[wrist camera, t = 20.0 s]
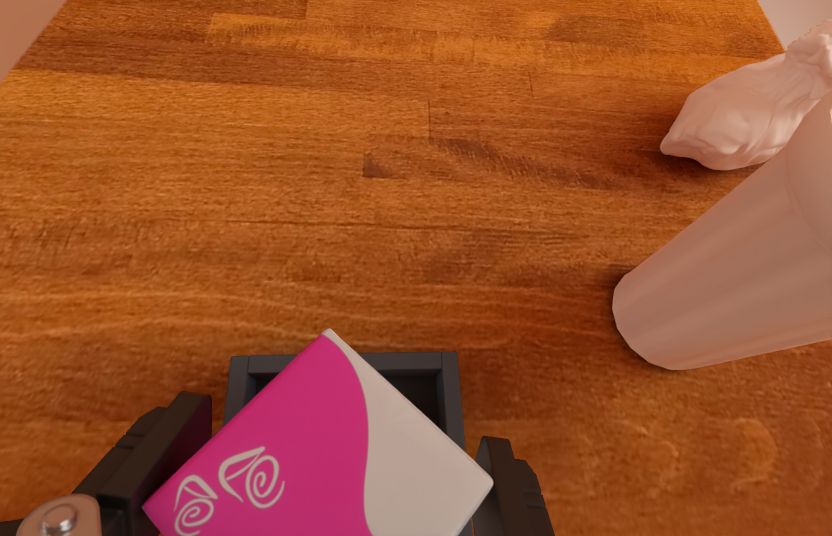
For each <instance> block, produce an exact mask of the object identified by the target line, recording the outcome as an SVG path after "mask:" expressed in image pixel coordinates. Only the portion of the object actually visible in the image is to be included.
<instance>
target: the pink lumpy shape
mask: <svg viewBox="0 0 832 536" xmlns="http://www.w3.org/2000/svg"><path fill="white" fill-rule="evenodd" d="M831 89H832V20H829V19H827V20H825V21H823V22H822V23H821V24H820V25H818V26H816V27H814V28H812V29H811V30H810V31H809V32H808V33H807V34H805V35H804V37H800V38H799V39H798V40H795V41H793V42H792V43H791V44H790V45H789V46H788V50H787V51H786V52H785V53H784V54H780V55H776V56H773V57H772V58H770V59H767V60H766V61H764V62H758V63H754V64H749V65H745V66H742V67H741V68H739V69H737V70H735V71H732V72H729V73H727V74H725V75H723V76H721V77H718V78H716V79H714V80H713V81H711V82H709V83H708V84H706V85H705V86H703V87H701V88H699V89H697V90H696V91H694V92H693V93H691V94H690V95H689V96H688V97H687V99H686V101H685V104H684V106H683V108H682V110H681V111H680V113H679V115H678V117H677V118H676V120H675V122H674V123H673V125H672V126H671V128H670V130H669V133H668V134H667V135H666V136H665V138H664V139H663V141H662V142H661V144H660V150H661V152H662V153H663V154H665V155H673V156H677V157H687V158H692V159H694V160H696V161H698V162H699V163H700V164H702V165H703V166H705V167H708V168H710V169H714V170H731V169H736V168H743V167H746V166H749V165H754V164H759V163H763V162H765V161H767V160H768V159H770V158H771V157H773V156H774V155H776V154H777V152H778V151H779V150H781V149H782V148H784V147H785V146H786V145H787V143H788V141H789V140H790V138H791V136H792V135H793V133H794V132H795V130H796V128H797V127H798V125H799V124H800V122H801V121H802V119H803V117H804V116H805V115H806V114H807V113H808V112H809V111H810V110H811V109H812V108H813V107H814V106H815V105H816V104H817V103H818V102H819V100H820V99H822V98H823V97H824V96H825V95H826V94H827V93H828V92H829V91H830V90H831Z"/></svg>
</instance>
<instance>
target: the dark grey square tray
mask: <svg viewBox="0 0 832 536" xmlns="http://www.w3.org/2000/svg"><path fill="white" fill-rule="evenodd" d="M357 354H358V355H359V356H361V357H362V358H363V359H364V360H365V361H366V362H367V363H368V364H369V365H370V366H372V367H373V368H374V369H375V370H376V371H377V372H378V373H379V374H380V375H381V376H382V377H384V378H385V379H386V380H387V381H388V382H389V383H390V384H391V385H392V386H393V387H395V388H396V389H397V390H398V391H399V392H400V393H401V394H402V395H403V396H404V397H405V398H407V399H408V400H409V401H410V402H411V403H412V404H413V405H414V406H415V407H416V408H418V409H419V410H420V411H421V412H422V413H423V414H424V415H425V416H426V417H427V418H428V419H430V420H431V421H432V422H433V423H434V424H435V425H436V426H437V427H438V428H439V429H440V430H441V431H442V432H443V433H445V434H446V435H447V436H448V437H449V438H450V439H451V440H452V441H453V442H454V443H455V444H457V445H458V446H459V447H460V448H461V449H462V450H463V451H464V452H465V453H466V451H465V439H464V427H463V415H462V403H461V391H460V379H459V367H458V355H457V352H456V351H454V352H401V353H357ZM297 356H298V355H253V356H232V357H231V363H230V371H229V379H228V387H227V395H226V403H225V411H224V419H223V426H225V425H226V424H227V423H228V422H229V421H230V420H231V419H232V418H233V417H234V416H235V415H236V414H237V413H238V412H239V411H240V410H241V409H242V408H243V407H244V406H245V405H246V404H247V403H248V402H249V401H250V400H251V399H252V398H253V397H255V396H256V395H257V394H258V393H259V392H260V391H261V390H262V389H263V388H264V387H265V386H266V385H267V384H268V383H269V382H270V381H271V380H272V379H274V378H275V377H276V376H277V375H278V374H279V373H280V372H281V371H282V370H283V369H284V368H285V367H286V366H287V365H288V364H289V363H290V362H291V361H292V360H293V359H294V358H296V357H297ZM458 536H473V535H472V523H471V518H470V519H469V521H468V522H467V524H466V525H465V527H464V528H463V529H462V531H461V532H460V533H459V535H458Z"/></svg>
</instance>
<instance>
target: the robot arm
mask: <svg viewBox="0 0 832 536" xmlns="http://www.w3.org/2000/svg"><path fill="white" fill-rule="evenodd" d="M211 437H212V399H211V396H210V395H208V394H201V393H194V392H187V391H182V392H181V393H179V395H178V396H177V397H176V398H175V399H174V400H173V402H172V403H171V404H170V405H169V406H168V408H165V407H156V408H155V409H153V410H151V411H150V412H148V413H146V414H145V415H143V416H142V417H140V418H139V419H138V420H137V421H136V422H135V423H134V424H133V425H132V427H131V428H130V429H129V430H128V431H127V432H126V435H123V437H122V438H121V439H120V440H119V441H118V442H117V443H116V446H115V447H113V448H112V449H111V450H110V451H109V452H108V453H107V454H106V455H105V457H104V458H103V459H102V460H101V461H100V462H99V463H98V464H97V465H96V467H95V468H94V469H93V470H92V471H91V472H90V473H89V474H88V475H87V477H86V478H85V479H84V480H83V481H82V482H81V483H80V484H79V485H78V487H77V488H76V489H75V490H74V491H73V492H72V493H71V494H69V495H64V496H60V497H57V498H54V499H52V500H50V501H48V502H46V503H44V504H42V505H40V506H39V507H37V508H36V509H35V510H33V511H32V512H31V513H30V514H29V515H28V516H27V517H26V518H24V519H19V520H12V521H5V522H0V536H158V535H159V533H160V531H159V530H158V529H157V527H156V526H155V525H154V524H153V522H152V521H151V520H150V518H149V517H148V516H147V514H146V513H145V512H144V510H143V509H142V504H143V503H144V502H145V501H146V500H147V499H148V498H149V497H150V496H151V495H152V494H153V493H154V492H155V491H156V490H157V489H158V488H160V487H161V486H162V485H163V484H164V483H165V482H166V481H167V480H168V479H169V478H170V477H171V476H172V475H173V474H174V473H175V472H177V471H178V470H179V469H180V468H181V467H182V466H183V465H184V464H185V463H186V462H187V461H188V460H189V459H190V458H191V457H192V456H193V455H194V454H195V453H196V452H197V451H198V450H199V449H200V448H201V447H202V446H203V445H204V444H206V443H207V442H208V441H209V440H210V439H211ZM475 462H476V463H477V464H478V465H479V466H480V467H481V468H482V469H483V470H484V471H485V472H486V473H487V474H489V476H490V477H491V478H492V479H493V486H492V488H491V489H490V491H489V493H488V494H487V495H486V497H485V498H484V500H483V501H482V502H481V504H480V505H479V507H478V508H477V510H476V511H475V512H474V514H473V515H472V518H473V526H474V535H475V536H555V535H554V531H553V528H552V525H551V522H550V518H549V515H548V512H547V509H546V508H545V502H544V499H543V495H541V489H540V486H539V482H538V479H537V476H536V474H535V473H534V472H533V470H532V469H531V468H530V466H529V465H528V464H527V462H526V461H525V460H519V459H514V456H513V452H512V448H511V444H510V441H509V440H508V439H503V438H496V437H489V436H483V437H482V439H481V442H480V446H479V449H478V453H477V456H476V460H475Z"/></svg>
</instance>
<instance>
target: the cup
mask: <svg viewBox="0 0 832 536" xmlns="http://www.w3.org/2000/svg"><path fill="white" fill-rule="evenodd" d="M612 310H613V314H614V318H615V322H616V325H617V329H618V330H619V332H620V333H621V335H622V336H623V338H624V339H625V341H626V342H627V343H628V345H629V346H630V348H631V349H632V350H634V351H635V352H636V353H638V354H639V355H640V356H641V357H643V358H644V359H645V360H646V361H648V362H649V363H651V364H654V365H657V366H660V367H663V368H666V369H669V370H686V369H694V368H698V367H703V366H708V365H712V364H717V363H722V362H726V361H731V360H736V359H741V358H745V357H750V356H755V355H759V354H764V353H769V352H773V351H778V350H783V349H788V348H792V347H797V346H802V345H806V344H811V343H816V342H820V341H825V340H830V339H832V89H831V90H830V91H829V92H828V93H827V94H826V95H825V96H824V97H823V98H822V99H821V100H820V101H819V102H818V103H817V104H816V105H815V106H814V107H813V108H812V109H811V110H810V111H809V112H808V113H807V114H806V115H805V116H804V117H803V119H802V121H801V122H800V124H799V125H798V127H797V128H796V130H795V132H794V133H793V135H792V136H791V138H790V140H789V141H788V143H787V145H786V147H785V148H783V149H782V150H781V151H780V152H779V153H777V154H776V155H775V156H774V157H772V158H771V159H770V160H769V161H767V162H766V163H765V164H764V165H763V166H761V167H760V168H759V169H758V170H756V171H755V172H754V173H753V174H751V175H750V176H749V177H748V178H747V179H745V180H744V181H743V182H742V183H740V184H739V185H738V186H737V187H735V188H734V189H733V190H732V191H731V192H729V193H728V194H727V195H726V196H724V197H723V198H722V199H721V200H719V201H718V202H717V203H716V204H715V205H713V206H712V207H711V208H710V209H708V210H707V211H706V212H705V213H703V214H702V215H701V216H700V217H699V218H697V219H696V220H695V221H694V222H692V223H691V224H690V225H689V226H688V227H686V228H685V229H684V230H683V231H681V232H680V233H679V234H678V235H676V236H675V237H674V238H673V239H672V240H670V241H669V242H668V243H667V244H665V245H664V246H663V247H662V248H660V249H659V250H658V251H656V252H655V253H654V254H653V255H651V256H650V257H649V258H647V259H646V260H645V261H644V262H642V263H641V264H640V265H639V266H637V267H636V268H635V269H633V270H632V271H631V272H629V273H627V274H626V275H624V277H623V278H622V279H621V281H620V282H619V283H618V285H617V286H616V288H615V289H614V296H613V304H612Z"/></svg>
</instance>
